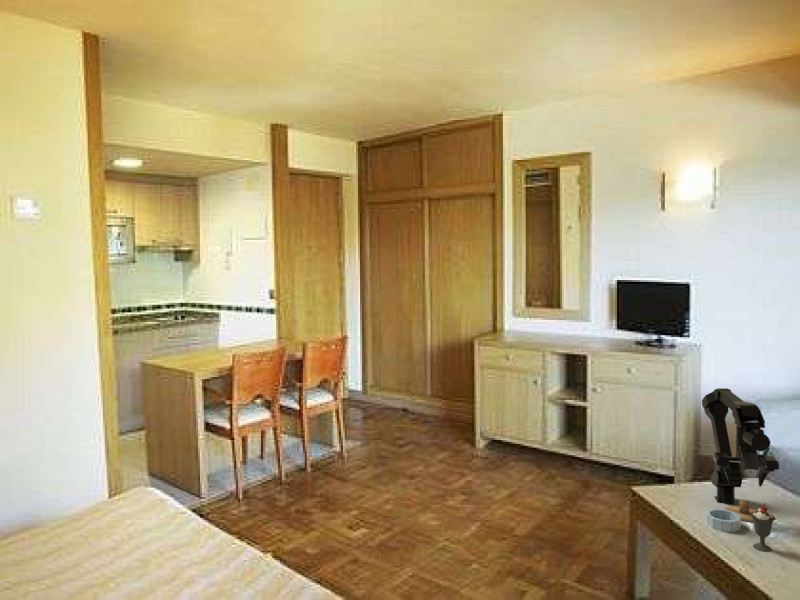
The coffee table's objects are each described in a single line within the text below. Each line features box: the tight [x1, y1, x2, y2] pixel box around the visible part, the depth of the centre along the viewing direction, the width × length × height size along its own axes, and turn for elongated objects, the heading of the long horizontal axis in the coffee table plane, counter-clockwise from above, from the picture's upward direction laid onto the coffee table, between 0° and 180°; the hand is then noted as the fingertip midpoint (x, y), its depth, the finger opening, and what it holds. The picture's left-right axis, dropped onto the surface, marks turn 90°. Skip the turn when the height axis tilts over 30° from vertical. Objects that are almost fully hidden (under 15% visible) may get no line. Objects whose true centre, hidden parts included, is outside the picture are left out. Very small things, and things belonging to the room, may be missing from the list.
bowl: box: [705, 508, 742, 533], centre depth 194 cm, size 10×10×4 cm
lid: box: [724, 498, 758, 523], centre depth 201 cm, size 12×12×5 cm
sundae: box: [750, 502, 776, 553], centre depth 179 cm, size 7×7×15 cm
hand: (744, 485), depth 198 cm, fingers open, 9 cm apart
